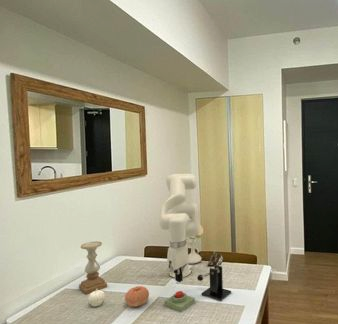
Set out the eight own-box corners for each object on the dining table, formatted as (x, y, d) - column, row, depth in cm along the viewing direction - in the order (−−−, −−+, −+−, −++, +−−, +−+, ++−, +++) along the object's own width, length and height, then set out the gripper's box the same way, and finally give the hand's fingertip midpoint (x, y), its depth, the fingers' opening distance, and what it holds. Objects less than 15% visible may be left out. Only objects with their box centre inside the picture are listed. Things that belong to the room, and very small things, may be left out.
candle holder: (78, 287, 150) (76, 244, 149) (100, 280, 158) (98, 239, 157) (85, 294, 143) (83, 249, 142) (107, 286, 151) (105, 243, 150)
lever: (197, 282, 144) (195, 276, 145) (201, 280, 147) (199, 274, 148) (217, 274, 137) (214, 268, 138) (221, 272, 140) (218, 266, 141)
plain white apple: (93, 310, 128) (93, 293, 128) (85, 306, 132) (84, 289, 131) (108, 303, 134) (107, 287, 134) (99, 299, 138) (99, 283, 137)
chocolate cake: (217, 268, 172) (224, 251, 179) (207, 265, 173) (214, 247, 180) (218, 273, 179) (225, 256, 186) (208, 270, 180) (215, 253, 188)
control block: (164, 305, 131) (164, 297, 131) (178, 296, 138) (177, 289, 138) (181, 311, 125) (181, 303, 125) (194, 302, 133) (194, 294, 132)
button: (173, 297, 131) (173, 293, 131) (179, 293, 134) (179, 290, 134) (179, 299, 129) (179, 295, 129) (184, 295, 132) (184, 292, 132)
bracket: (201, 295, 139) (201, 268, 139) (212, 287, 147) (212, 262, 147) (220, 301, 133) (220, 273, 133) (231, 293, 141) (230, 266, 140)
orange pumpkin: (131, 298, 138) (130, 282, 138) (152, 298, 138) (152, 282, 137) (121, 310, 127) (120, 293, 127) (144, 310, 127) (143, 293, 127)
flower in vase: (187, 266, 175) (186, 227, 175) (182, 260, 185) (181, 223, 185) (206, 262, 181) (205, 225, 181) (201, 256, 191) (200, 221, 191)
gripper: (183, 237, 139) (184, 272, 140) (160, 247, 126) (161, 285, 127) (194, 240, 135) (195, 276, 136) (171, 249, 122) (173, 289, 123)
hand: (178, 280), depth 132 cm, fingers closed
